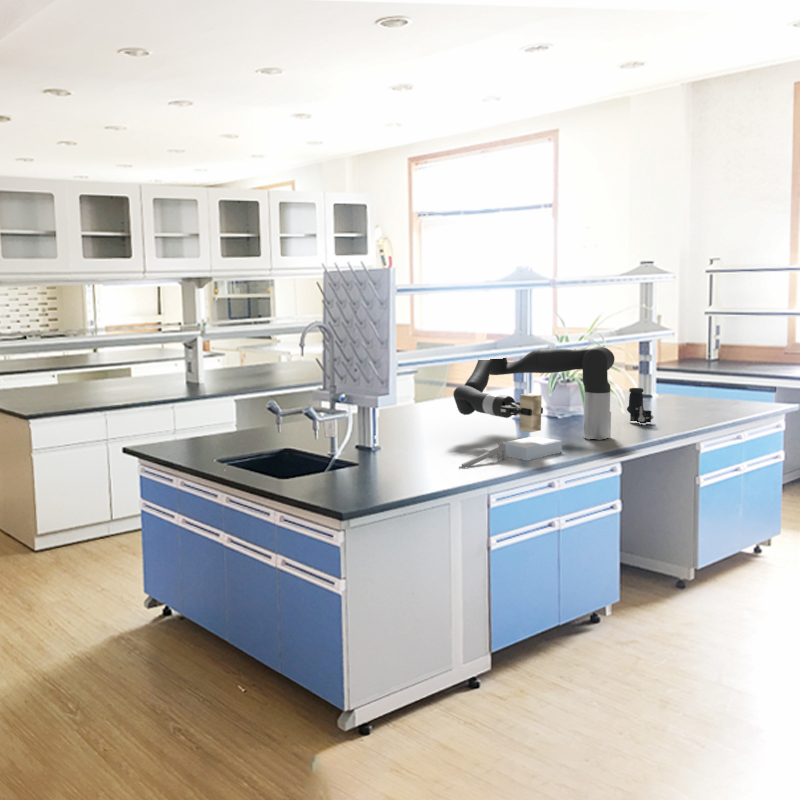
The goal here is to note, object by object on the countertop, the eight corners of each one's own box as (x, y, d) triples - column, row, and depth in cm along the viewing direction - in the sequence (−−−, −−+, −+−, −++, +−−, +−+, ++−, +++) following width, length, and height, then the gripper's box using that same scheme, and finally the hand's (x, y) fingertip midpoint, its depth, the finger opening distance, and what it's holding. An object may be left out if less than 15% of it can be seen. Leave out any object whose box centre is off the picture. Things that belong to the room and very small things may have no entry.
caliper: (503, 459, 277) (503, 440, 277) (506, 459, 277) (506, 441, 276) (458, 469, 265) (458, 449, 264) (460, 469, 264) (460, 449, 263)
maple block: (529, 428, 287) (530, 393, 285) (540, 430, 283) (541, 394, 281) (519, 430, 283) (520, 394, 282) (530, 432, 280) (531, 396, 278)
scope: (642, 391, 330) (621, 388, 338) (641, 426, 332) (620, 422, 340) (655, 389, 335) (634, 386, 343) (654, 423, 337) (633, 420, 345)
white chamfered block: (534, 447, 295) (534, 435, 294) (561, 452, 286) (561, 440, 285) (499, 454, 283) (499, 442, 282) (526, 460, 274) (526, 447, 273)
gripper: (484, 396, 288) (522, 402, 275) (512, 392, 297) (550, 398, 284) (484, 418, 289) (522, 425, 276) (512, 413, 298) (550, 420, 285)
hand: (536, 411), depth 280 cm, fingers closed on maple block, 5 cm apart
